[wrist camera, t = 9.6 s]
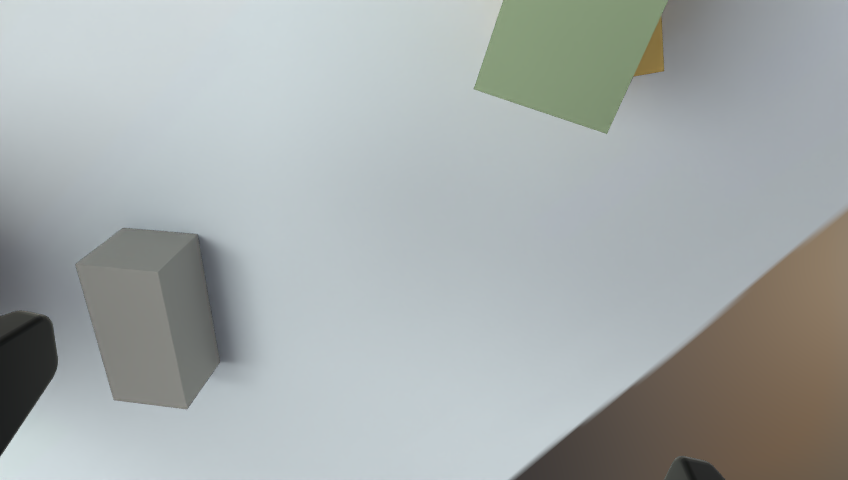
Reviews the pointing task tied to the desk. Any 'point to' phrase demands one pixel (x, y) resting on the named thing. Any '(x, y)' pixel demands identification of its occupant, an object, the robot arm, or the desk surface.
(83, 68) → the desk surface
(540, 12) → the sage brick
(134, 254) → the slate brick
